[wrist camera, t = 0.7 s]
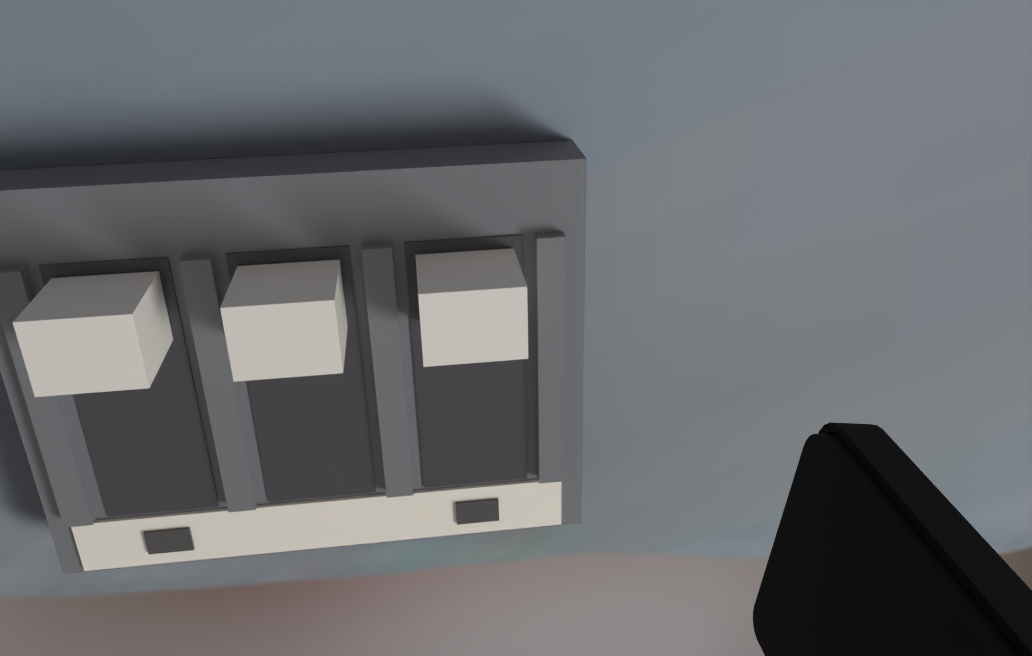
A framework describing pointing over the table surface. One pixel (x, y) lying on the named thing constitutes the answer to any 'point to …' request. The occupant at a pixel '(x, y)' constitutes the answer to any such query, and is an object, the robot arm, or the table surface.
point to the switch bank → (307, 399)
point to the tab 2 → (472, 307)
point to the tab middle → (285, 320)
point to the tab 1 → (95, 334)
